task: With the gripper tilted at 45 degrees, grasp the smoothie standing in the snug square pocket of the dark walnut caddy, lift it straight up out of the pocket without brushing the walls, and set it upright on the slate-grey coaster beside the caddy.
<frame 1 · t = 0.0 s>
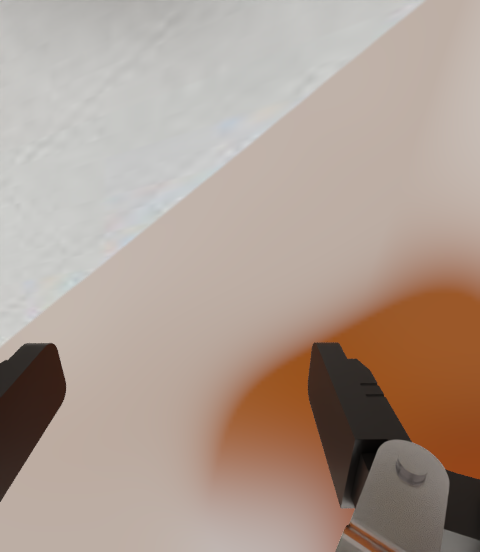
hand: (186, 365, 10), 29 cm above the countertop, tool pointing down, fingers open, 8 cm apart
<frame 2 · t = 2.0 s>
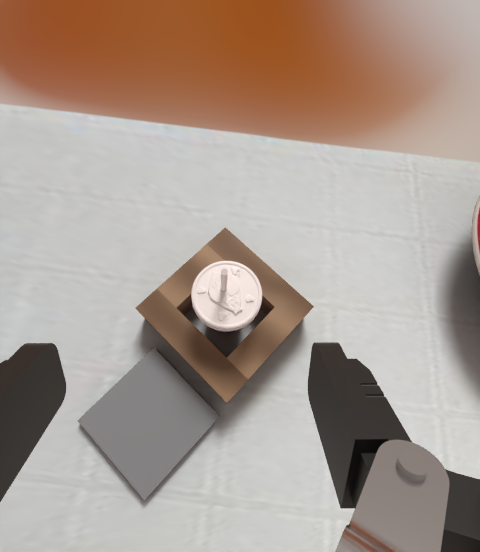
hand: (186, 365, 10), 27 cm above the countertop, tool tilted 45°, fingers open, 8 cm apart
walnut caddy: (225, 316, 38), on the countertop
smoothie: (225, 316, 38), resting in walnut caddy
slate coaster: (151, 417, 34), on the countertop
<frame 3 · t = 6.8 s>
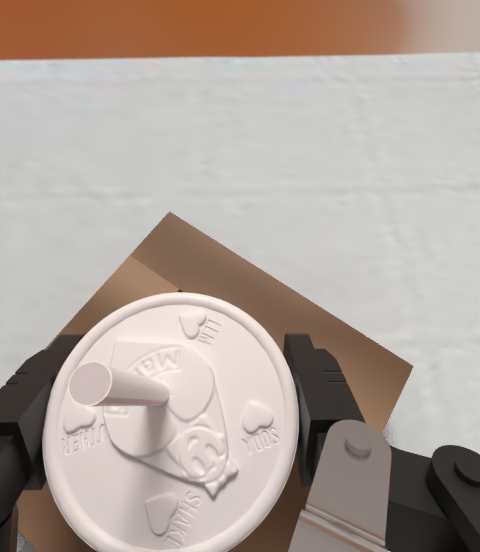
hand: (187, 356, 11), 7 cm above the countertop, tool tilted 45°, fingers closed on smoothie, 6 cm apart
walnut caddy: (203, 408, 17), on the countertop
smoothie: (203, 408, 17), resting in walnut caddy, touching gripper
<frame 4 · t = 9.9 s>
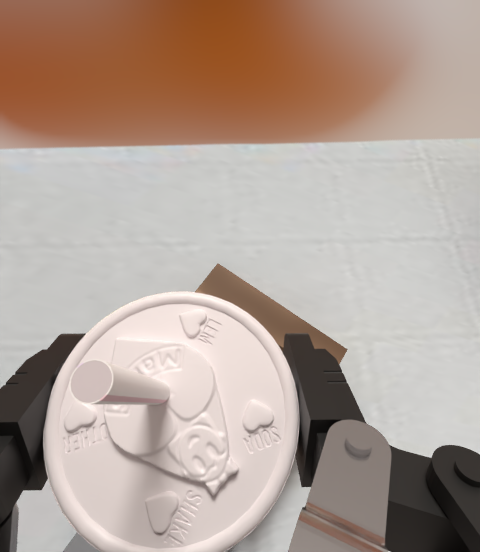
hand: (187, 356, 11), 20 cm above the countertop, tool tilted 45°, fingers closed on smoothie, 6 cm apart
walnut caddy: (234, 374, 30), on the countertop
smoothie: (203, 408, 17), point 12 cm above the countertop, touching gripper
slate coaster: (158, 531, 25), on the countertop
when the fingers open (10 cm above the countertop, at t = 13.2 s): smoothie drops 1 cm, resting on slate coaster.
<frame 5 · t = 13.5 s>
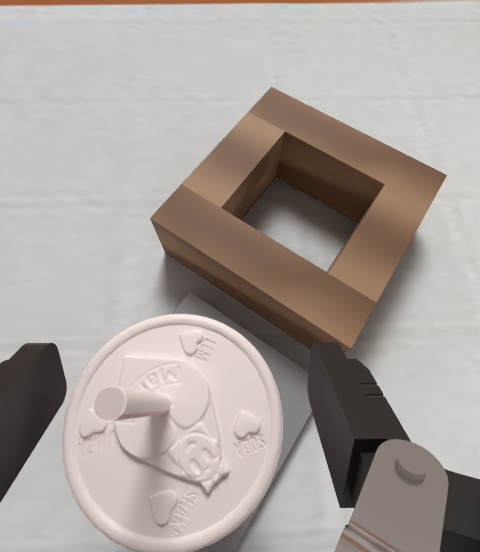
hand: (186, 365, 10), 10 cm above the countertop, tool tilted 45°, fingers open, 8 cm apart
walnut caddy: (291, 232, 24), on the countertop
smoothie: (202, 413, 18), point 1 cm above the countertop, touching slate coaster
slate coaster: (207, 408, 19), on the countertop
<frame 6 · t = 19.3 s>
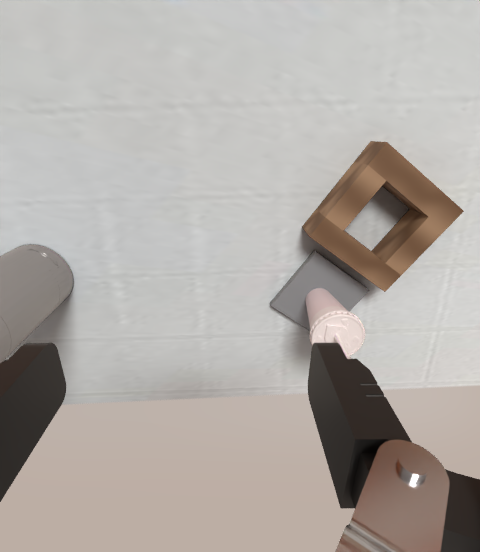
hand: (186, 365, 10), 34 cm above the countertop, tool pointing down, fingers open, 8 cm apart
walnut caddy: (371, 215, 43), on the countertop
smoothie: (317, 299, 47), point 1 cm above the countertop, touching slate coaster
slate coaster: (318, 295, 48), on the countertop
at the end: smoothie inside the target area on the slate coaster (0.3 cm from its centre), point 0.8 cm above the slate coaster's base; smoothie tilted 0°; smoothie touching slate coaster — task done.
